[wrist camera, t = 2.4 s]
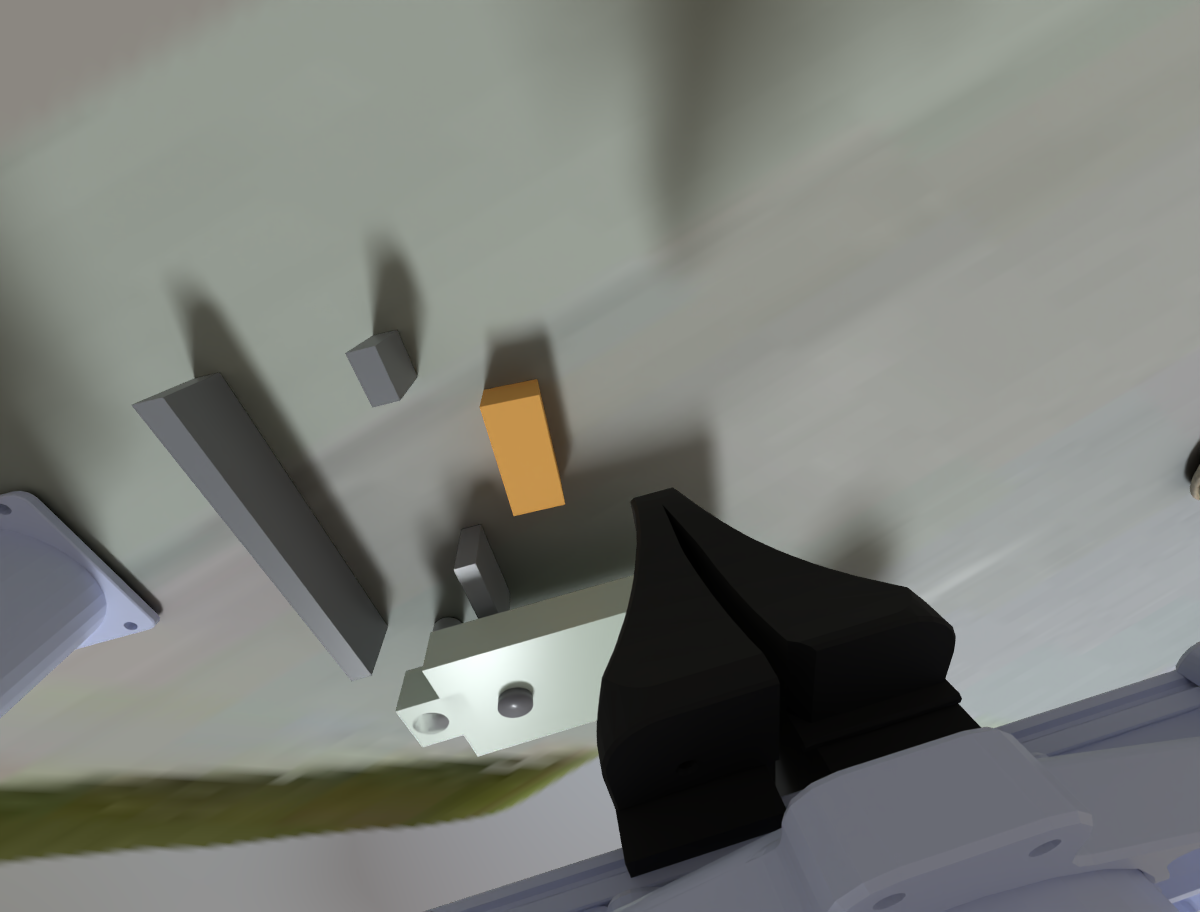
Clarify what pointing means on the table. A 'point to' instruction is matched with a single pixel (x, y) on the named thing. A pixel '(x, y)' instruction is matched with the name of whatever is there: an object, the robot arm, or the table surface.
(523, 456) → the orange cuboid brick
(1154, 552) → the table surface
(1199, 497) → the carving
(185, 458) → the long grey beam
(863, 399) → the table surface
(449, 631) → the cover
